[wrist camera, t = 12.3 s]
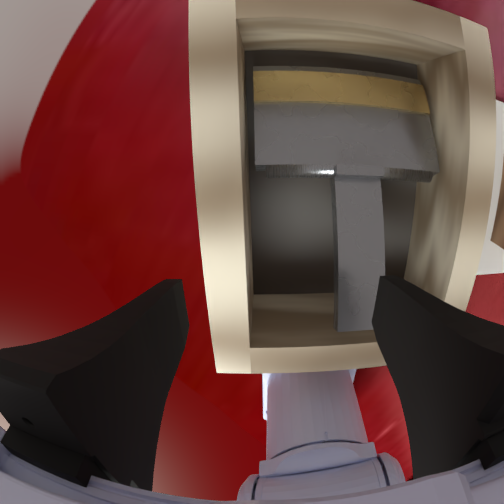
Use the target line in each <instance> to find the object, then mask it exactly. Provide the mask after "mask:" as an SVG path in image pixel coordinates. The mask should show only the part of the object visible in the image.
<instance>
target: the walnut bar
mask: <svg viewBox="0 0 504 504" xmlns="http://www.w3.org/2000/svg"><path fill="white" fill-rule="evenodd" d="M490 241H492V242H493V243H495V244H496V245H498V246H499V247H501V248H502V249H504V160H503V170H502V178H501V186H500V193H499V199H498V205H497V211H496V216H495V221H494V226H493V231H492V235H491V240H490Z"/></svg>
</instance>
